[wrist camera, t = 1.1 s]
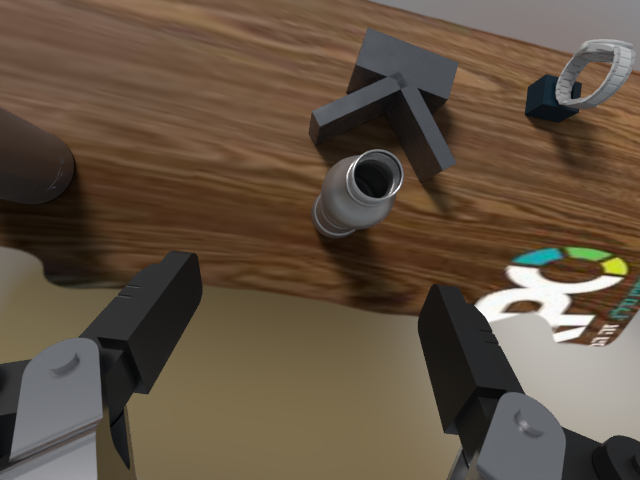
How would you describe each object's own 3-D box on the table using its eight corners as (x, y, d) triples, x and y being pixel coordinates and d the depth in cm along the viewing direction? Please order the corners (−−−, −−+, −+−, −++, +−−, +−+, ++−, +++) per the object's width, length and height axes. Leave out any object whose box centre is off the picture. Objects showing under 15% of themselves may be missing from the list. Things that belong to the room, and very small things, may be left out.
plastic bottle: (367, 222, 41) (443, 188, 21) (326, 249, 40) (363, 241, 20) (341, 182, 40) (392, 110, 21) (299, 209, 40) (311, 159, 20)
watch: (562, 83, 45) (650, 27, 34) (557, 133, 44) (644, 93, 34) (529, 74, 45) (607, 15, 34) (522, 125, 44) (600, 82, 33)
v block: (305, 142, 40) (308, 122, 34) (335, 52, 42) (342, 17, 36) (429, 186, 42) (453, 174, 36) (455, 97, 43) (481, 71, 37)
